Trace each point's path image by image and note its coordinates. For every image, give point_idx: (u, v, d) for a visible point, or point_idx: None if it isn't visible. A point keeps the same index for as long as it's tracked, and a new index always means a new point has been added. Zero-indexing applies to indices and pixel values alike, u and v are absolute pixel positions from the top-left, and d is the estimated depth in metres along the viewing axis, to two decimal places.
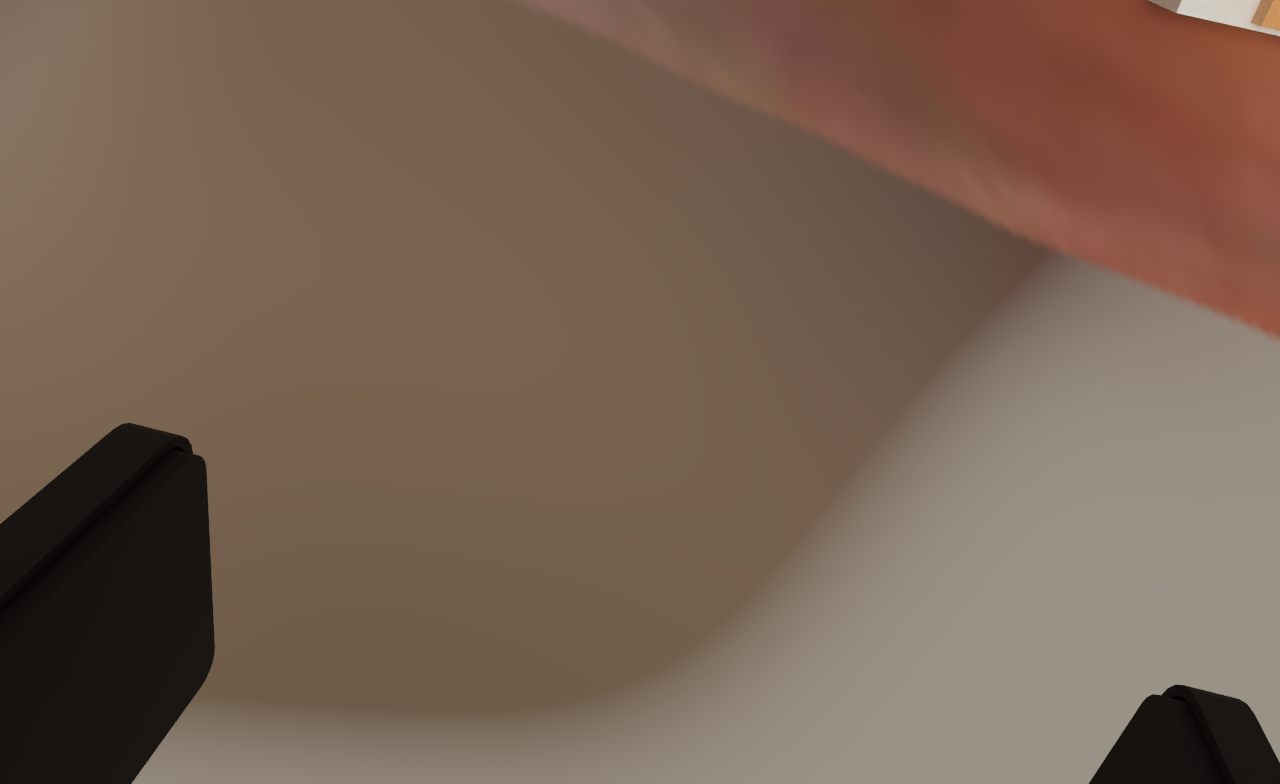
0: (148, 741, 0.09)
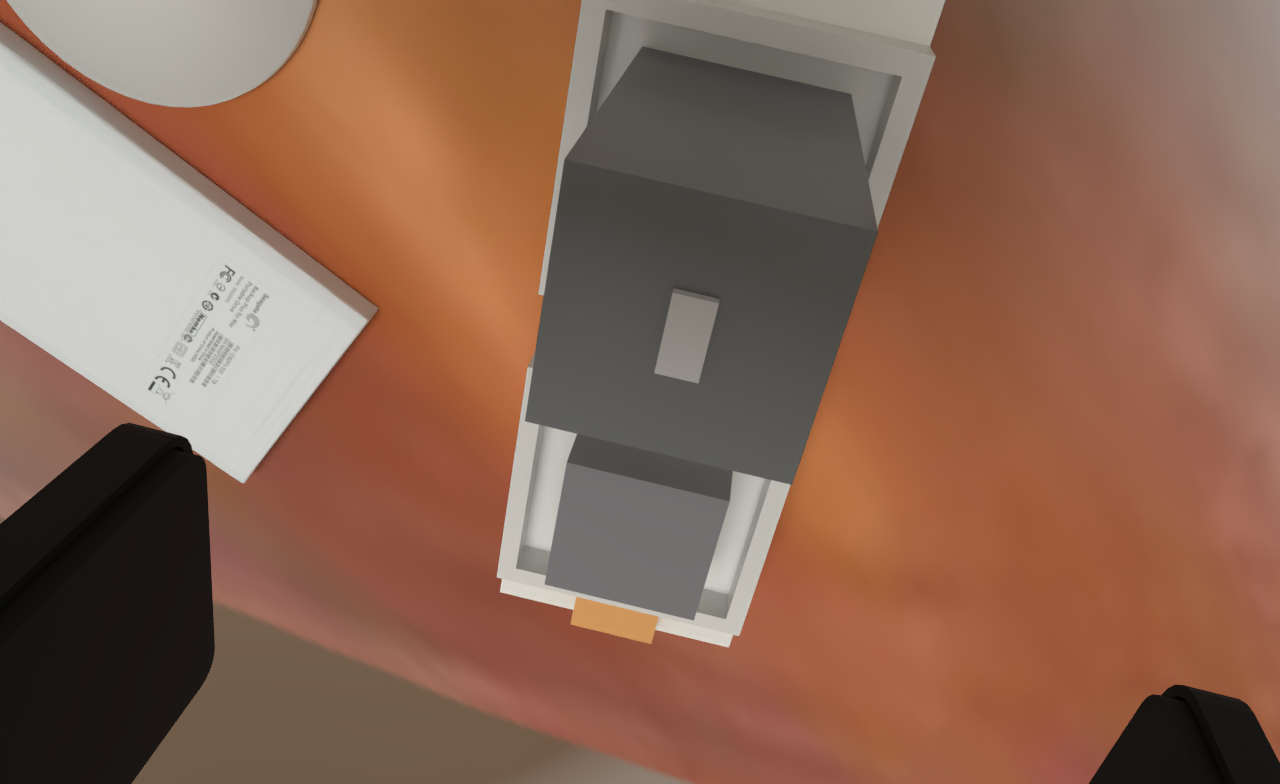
0: (148, 741, 0.09)
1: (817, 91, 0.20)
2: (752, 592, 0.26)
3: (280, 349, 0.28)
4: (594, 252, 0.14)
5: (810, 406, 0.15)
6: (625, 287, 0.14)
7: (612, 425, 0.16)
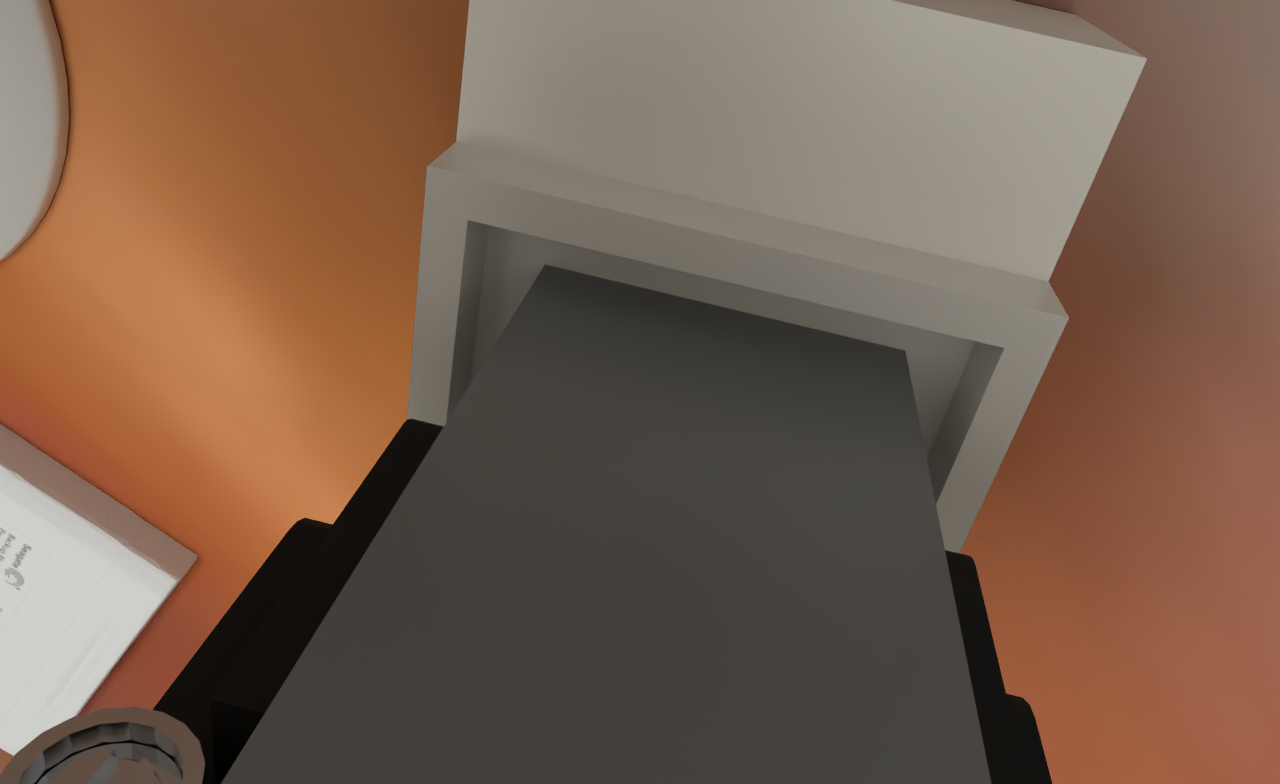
0: None
1: (847, 353, 0.11)
2: None
3: (59, 614, 0.20)
4: None
5: None
6: None
7: None
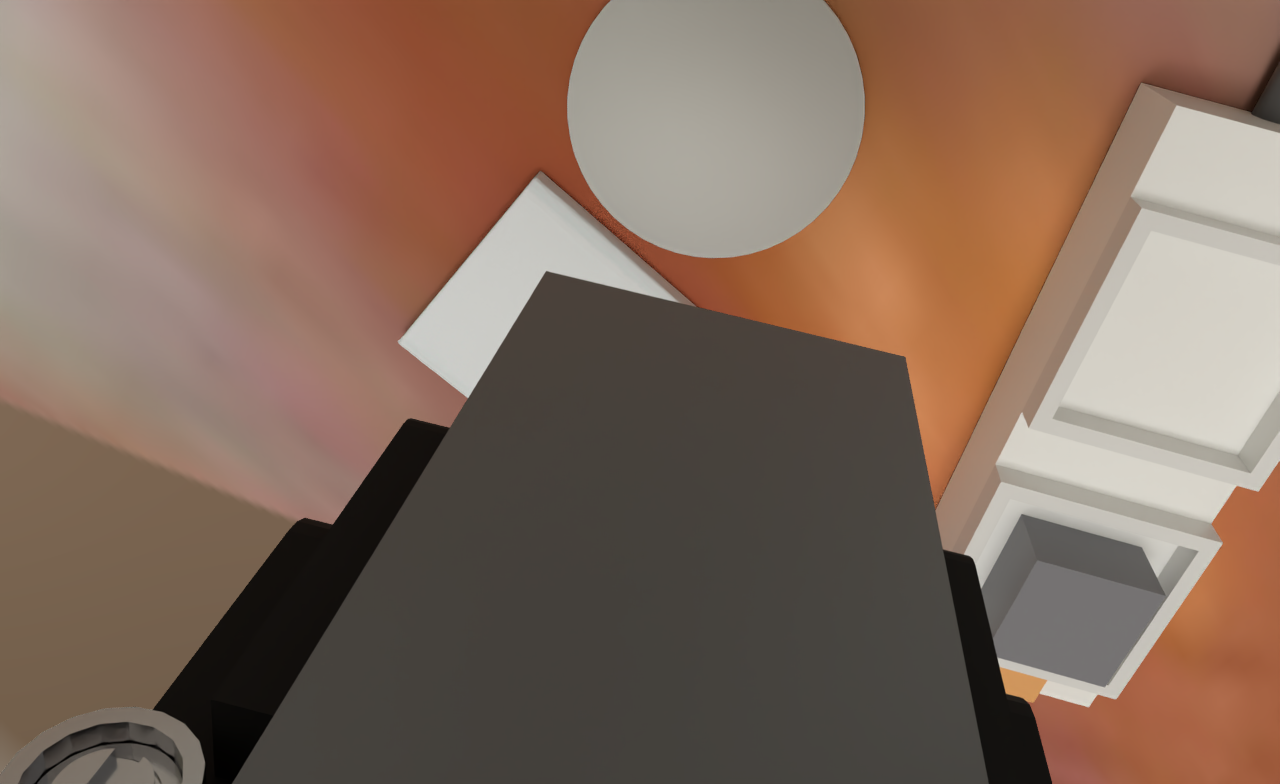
0: None
1: (847, 360, 0.11)
2: (1138, 664, 0.32)
3: None
4: None
5: None
6: None
7: None
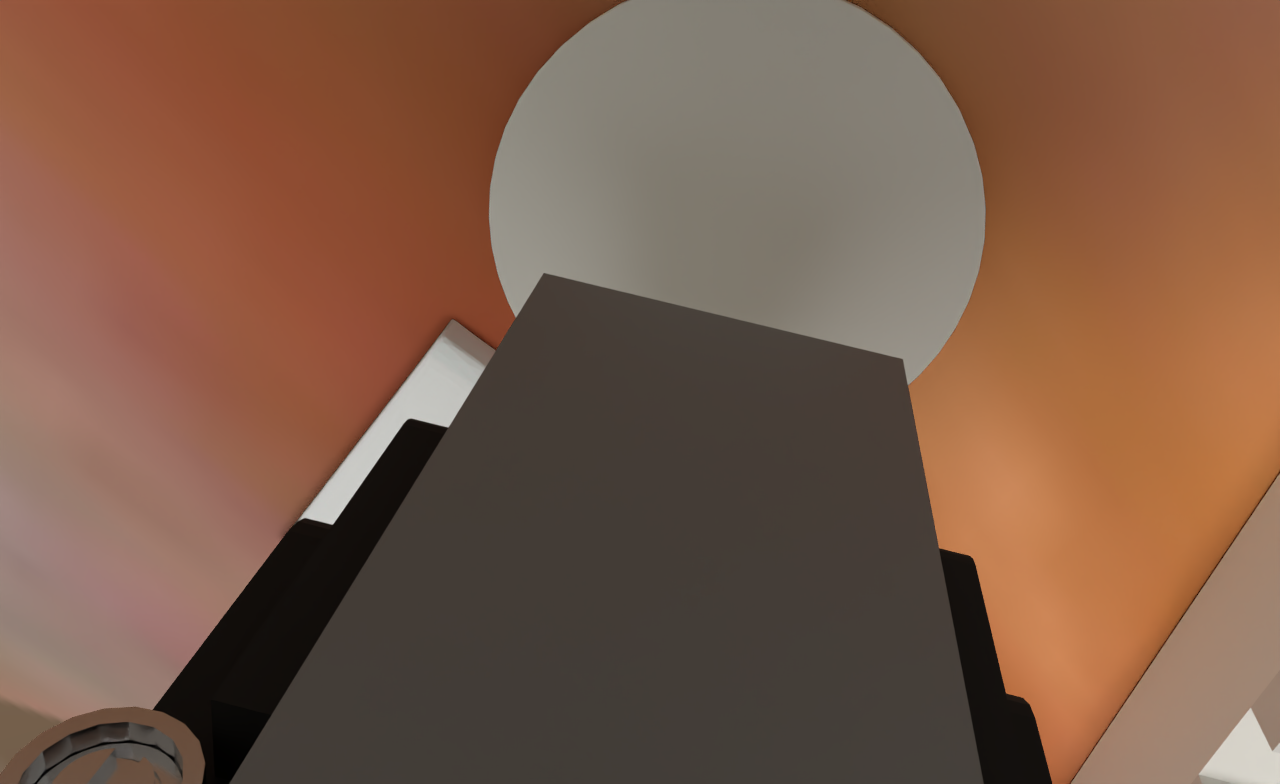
0: None
1: (845, 362, 0.11)
2: None
3: None
4: None
5: None
6: None
7: None
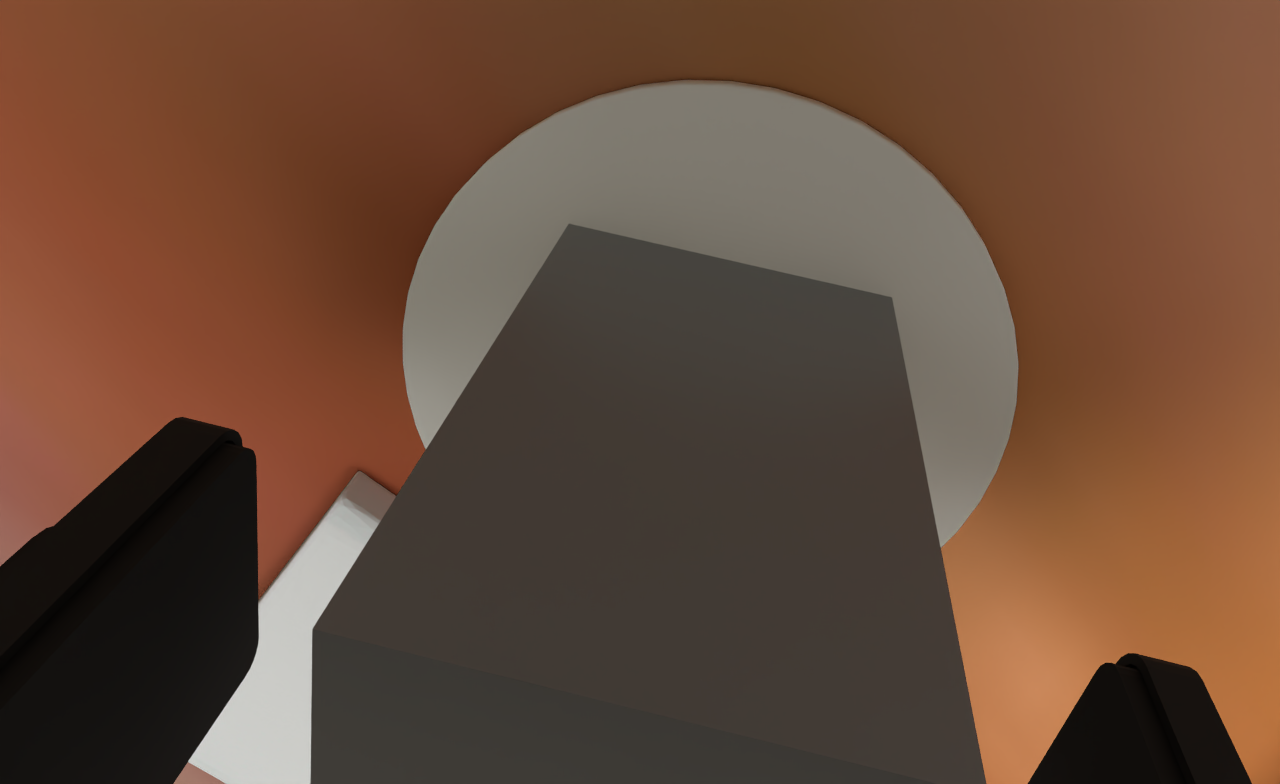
0: (198, 728, 0.10)
1: (839, 299, 0.13)
2: None
3: None
4: (397, 778, 0.07)
5: None
6: None
7: None
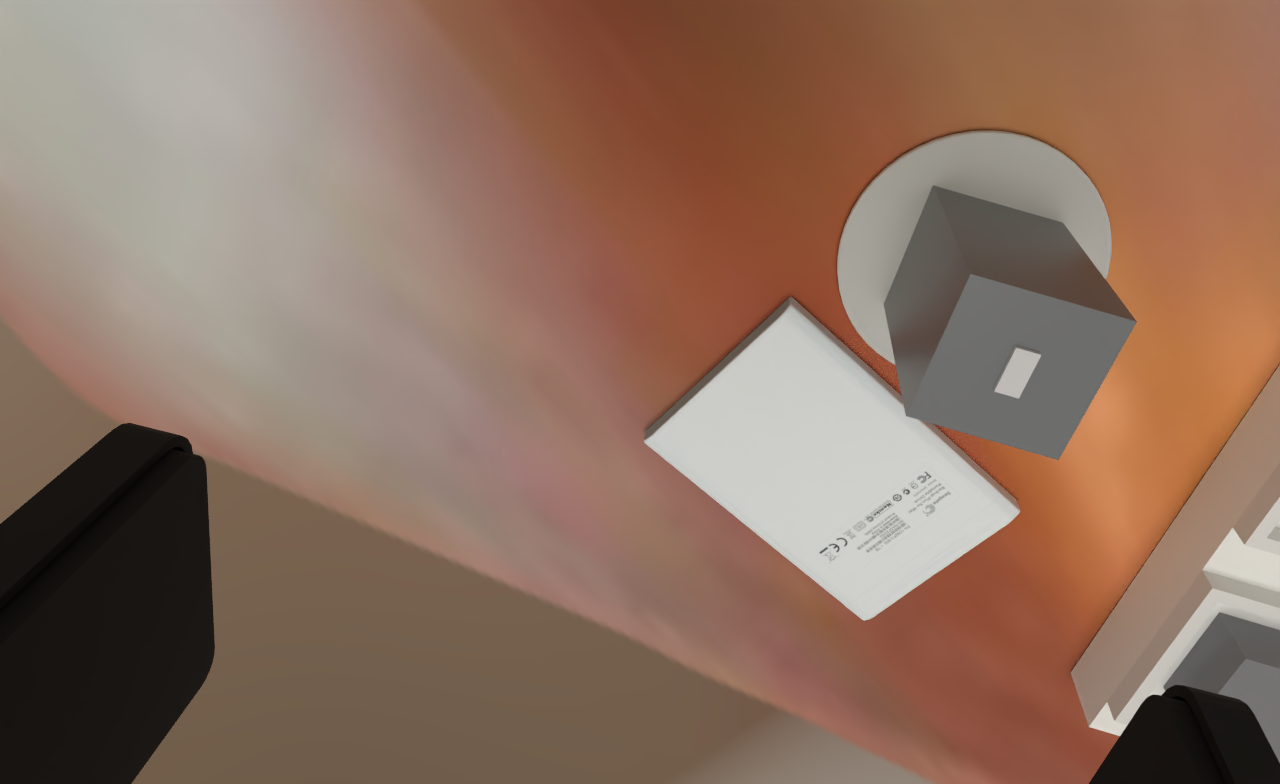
0: (148, 741, 0.09)
1: (1044, 221, 0.32)
2: None
3: (943, 529, 0.38)
4: (974, 323, 0.26)
5: (1079, 414, 0.27)
6: (987, 343, 0.26)
7: (959, 420, 0.27)
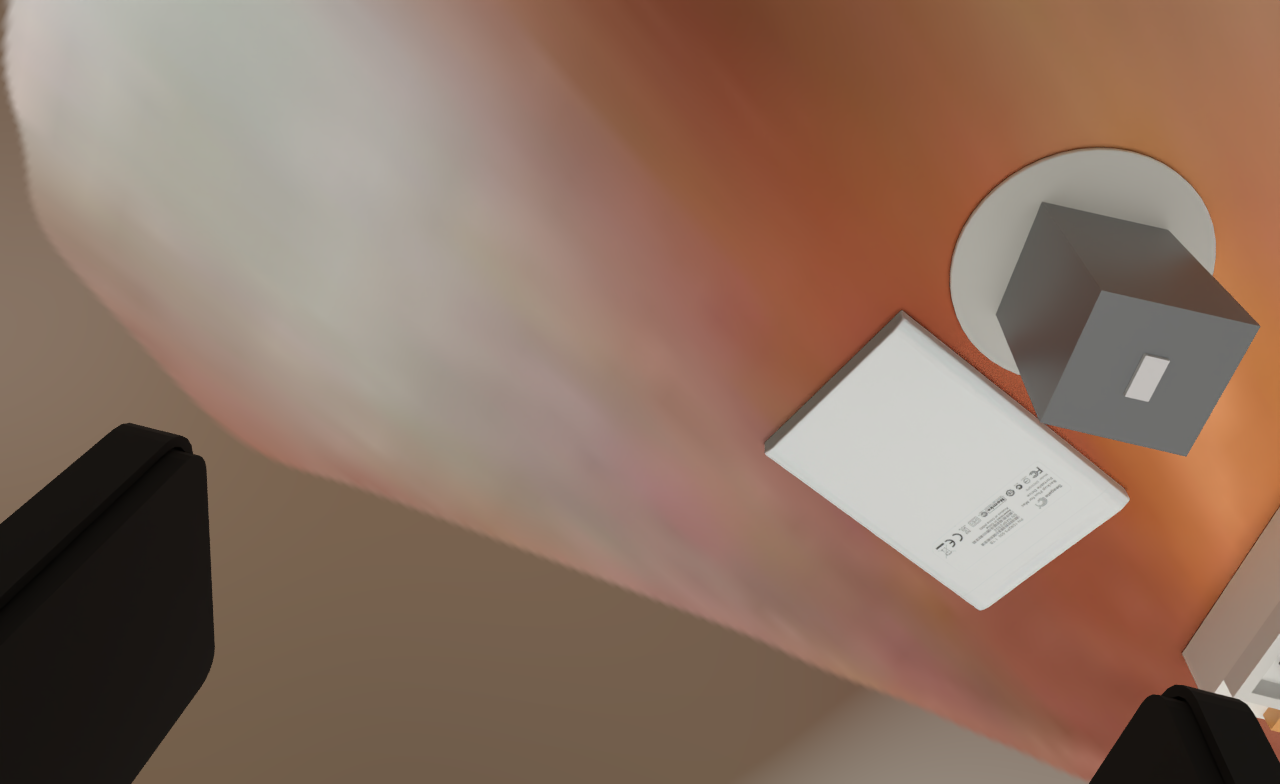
0: (148, 741, 0.09)
1: (1151, 229, 0.34)
2: None
3: (1056, 520, 0.40)
4: (1105, 335, 0.28)
5: (1205, 413, 0.29)
6: (1118, 352, 0.28)
7: (1091, 424, 0.29)
